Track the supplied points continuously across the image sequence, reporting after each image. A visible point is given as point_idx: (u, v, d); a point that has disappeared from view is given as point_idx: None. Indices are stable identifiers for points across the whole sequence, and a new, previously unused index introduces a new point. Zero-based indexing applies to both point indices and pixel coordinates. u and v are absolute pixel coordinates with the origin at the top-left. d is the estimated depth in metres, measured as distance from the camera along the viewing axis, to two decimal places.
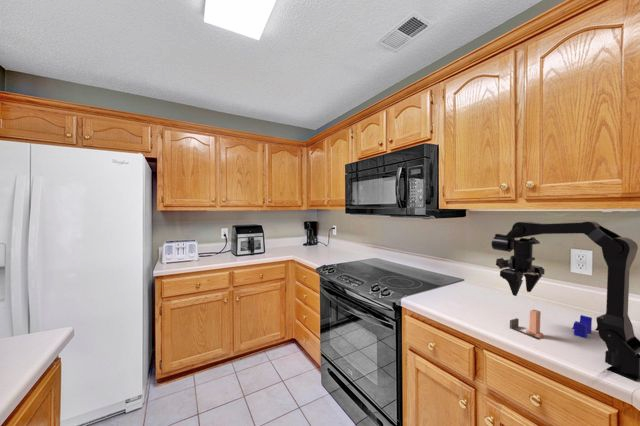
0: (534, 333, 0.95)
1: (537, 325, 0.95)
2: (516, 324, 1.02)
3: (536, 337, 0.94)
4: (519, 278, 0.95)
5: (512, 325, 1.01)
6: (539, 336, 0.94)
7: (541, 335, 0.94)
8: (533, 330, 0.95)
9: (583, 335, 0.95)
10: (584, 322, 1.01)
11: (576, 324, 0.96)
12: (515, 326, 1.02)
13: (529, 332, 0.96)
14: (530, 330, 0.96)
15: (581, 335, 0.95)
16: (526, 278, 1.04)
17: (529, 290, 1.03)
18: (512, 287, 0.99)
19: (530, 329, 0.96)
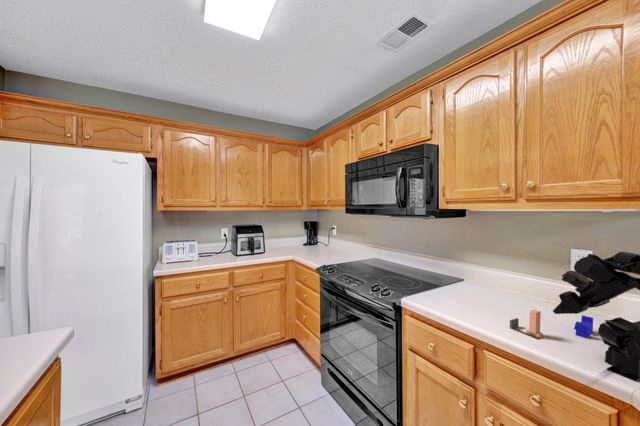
0: (534, 333, 0.95)
1: (537, 325, 0.95)
2: (516, 324, 1.02)
3: (536, 337, 0.94)
4: (580, 312, 0.79)
5: (512, 325, 1.01)
6: (539, 336, 0.94)
7: (541, 335, 0.94)
8: (533, 330, 0.95)
9: (585, 335, 0.94)
10: (585, 322, 1.01)
11: (578, 324, 0.96)
12: (515, 326, 1.02)
13: (529, 332, 0.96)
14: (530, 330, 0.96)
15: (583, 335, 0.95)
16: None
17: None
18: (560, 307, 0.85)
19: (530, 329, 0.96)
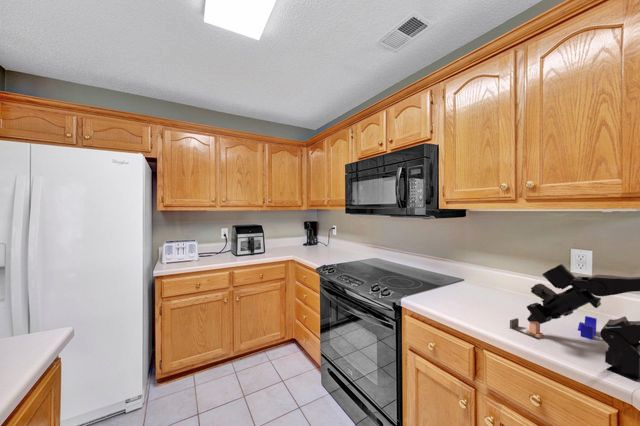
0: (534, 333, 0.95)
1: (537, 325, 0.95)
2: (516, 324, 1.02)
3: (536, 337, 0.94)
4: (544, 322, 0.87)
5: (512, 325, 1.01)
6: (539, 336, 0.94)
7: (541, 335, 0.94)
8: (533, 330, 0.95)
9: (590, 337, 0.93)
10: (589, 323, 1.01)
11: (583, 326, 0.95)
12: (515, 326, 1.02)
13: (529, 332, 0.96)
14: (530, 330, 0.96)
15: (588, 337, 0.94)
16: None
17: None
18: (533, 316, 0.94)
19: (530, 329, 0.96)
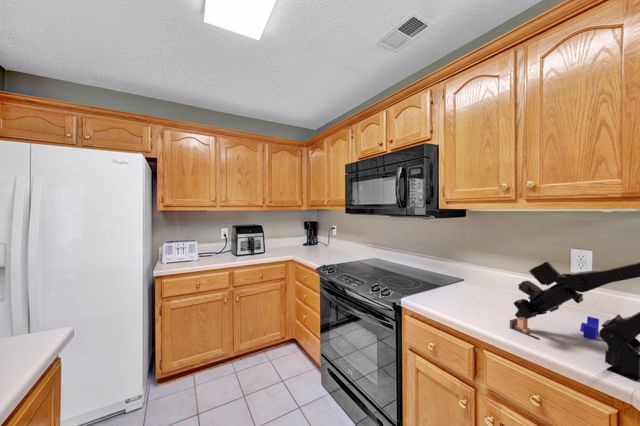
0: (522, 328, 0.99)
1: (525, 320, 0.99)
2: (516, 324, 1.02)
3: (536, 337, 0.94)
4: (530, 317, 0.91)
5: (512, 325, 1.01)
6: (526, 331, 0.98)
7: (528, 330, 0.98)
8: (521, 325, 0.99)
9: (593, 337, 0.93)
10: (591, 323, 1.00)
11: (586, 326, 0.94)
12: None
13: (517, 327, 1.00)
14: (518, 325, 1.00)
15: (591, 337, 0.93)
16: None
17: None
18: (520, 312, 0.98)
19: (518, 324, 1.00)
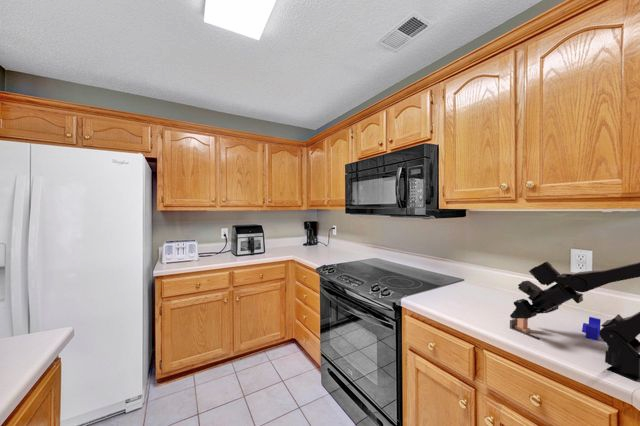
0: (522, 328, 0.99)
1: (525, 320, 0.99)
2: (516, 324, 1.02)
3: (536, 337, 0.94)
4: (530, 317, 0.91)
5: (512, 325, 1.01)
6: (526, 331, 0.98)
7: (528, 330, 0.98)
8: (521, 325, 0.99)
9: (595, 338, 0.93)
10: (593, 324, 1.00)
11: (588, 327, 0.94)
12: None
13: (517, 327, 1.00)
14: (518, 325, 1.00)
15: (593, 338, 0.93)
16: None
17: None
18: (515, 313, 0.97)
19: (518, 324, 1.00)
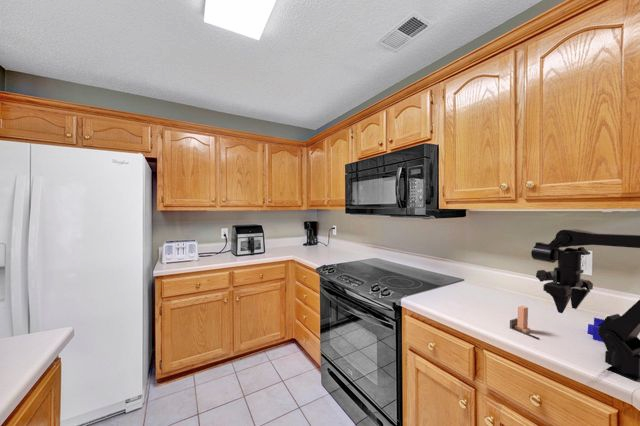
0: (522, 328, 0.99)
1: (525, 320, 0.99)
2: (516, 324, 1.02)
3: (536, 337, 0.94)
4: (568, 293, 0.84)
5: (512, 325, 1.01)
6: (526, 331, 0.98)
7: (528, 330, 0.98)
8: (521, 325, 0.99)
9: None
10: None
11: (595, 328, 0.93)
12: None
13: (517, 327, 1.00)
14: (518, 325, 1.00)
15: (601, 339, 0.92)
16: (571, 293, 0.93)
17: (575, 307, 0.91)
18: (558, 303, 0.87)
19: (518, 324, 1.00)
